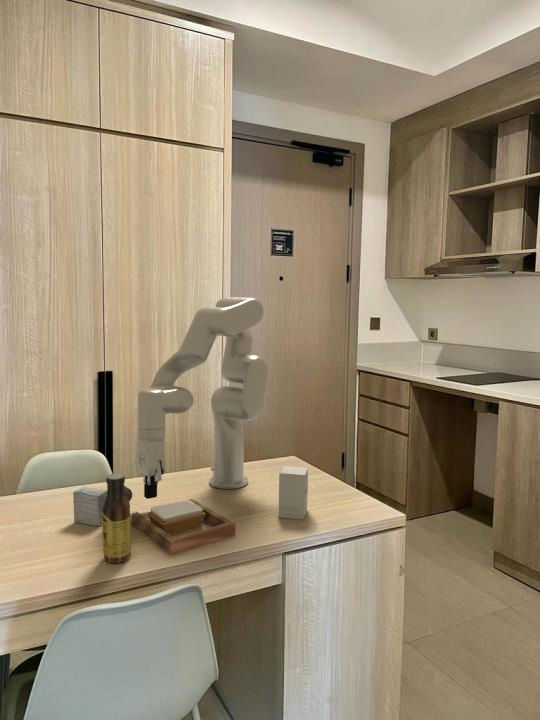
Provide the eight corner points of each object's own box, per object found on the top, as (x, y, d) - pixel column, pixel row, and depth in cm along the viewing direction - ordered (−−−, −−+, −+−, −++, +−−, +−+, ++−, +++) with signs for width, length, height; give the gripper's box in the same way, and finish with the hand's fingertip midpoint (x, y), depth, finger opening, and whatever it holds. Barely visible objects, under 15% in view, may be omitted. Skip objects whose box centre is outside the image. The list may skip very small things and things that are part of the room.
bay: (110, 524, 145) (109, 485, 144) (186, 505, 160) (186, 469, 158) (153, 560, 126) (152, 515, 125) (235, 534, 140) (235, 494, 139)
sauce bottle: (106, 552, 130) (104, 470, 128) (133, 551, 130) (132, 470, 128) (100, 566, 123) (98, 479, 121) (128, 565, 124) (127, 479, 122)
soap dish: (162, 538, 138) (162, 519, 138) (146, 525, 146) (146, 507, 145) (206, 527, 145) (206, 508, 145) (188, 515, 153) (188, 497, 153)
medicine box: (108, 521, 148) (108, 489, 147) (98, 527, 144) (98, 495, 143) (84, 516, 151) (83, 486, 150) (73, 523, 146) (72, 491, 145)
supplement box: (304, 520, 150) (305, 475, 149) (277, 517, 152) (278, 473, 150) (308, 510, 158) (308, 467, 156) (282, 507, 159) (283, 465, 158)
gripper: (127, 429, 157) (126, 492, 159) (151, 440, 145) (150, 507, 147) (151, 426, 162) (150, 487, 163) (176, 436, 150) (175, 502, 152)
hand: (150, 497), depth 155 cm, fingers closed
